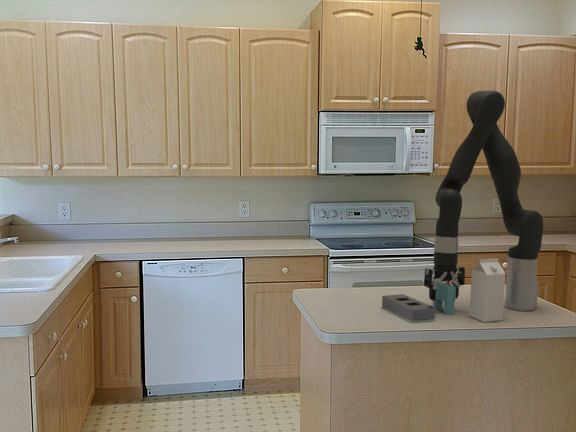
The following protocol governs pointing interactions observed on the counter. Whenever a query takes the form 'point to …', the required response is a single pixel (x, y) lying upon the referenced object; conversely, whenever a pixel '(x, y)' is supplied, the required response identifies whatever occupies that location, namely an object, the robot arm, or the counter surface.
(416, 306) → the grey socket block
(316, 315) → the counter surface
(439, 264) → the robot arm
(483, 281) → the milk carton
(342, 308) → the counter surface
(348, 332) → the counter surface
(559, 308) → the counter surface
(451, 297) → the teal elongated block
